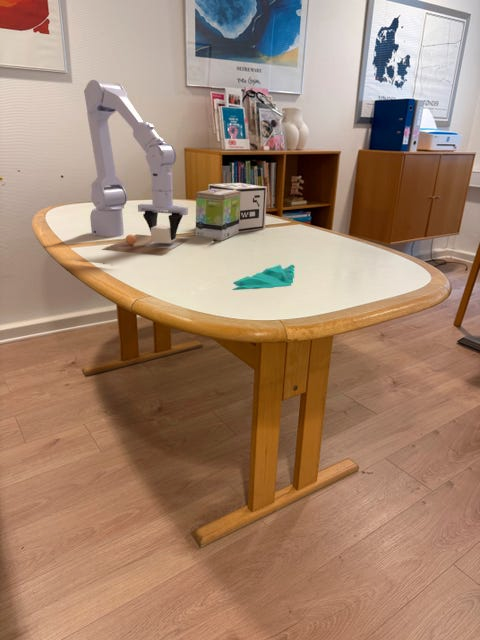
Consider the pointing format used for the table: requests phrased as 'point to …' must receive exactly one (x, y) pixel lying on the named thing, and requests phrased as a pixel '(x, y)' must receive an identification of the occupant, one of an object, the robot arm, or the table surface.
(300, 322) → the table surface
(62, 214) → the table surface
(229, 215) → the tea box
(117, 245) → the board
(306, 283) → the table surface
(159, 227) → the cream cube
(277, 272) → the cloth
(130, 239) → the orange ball
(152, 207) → the robot arm
